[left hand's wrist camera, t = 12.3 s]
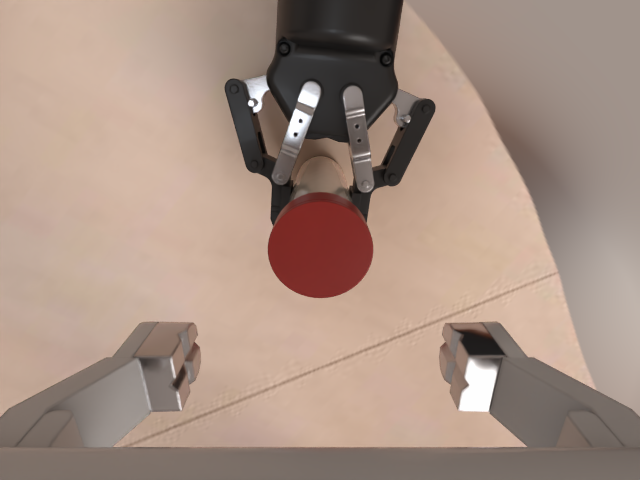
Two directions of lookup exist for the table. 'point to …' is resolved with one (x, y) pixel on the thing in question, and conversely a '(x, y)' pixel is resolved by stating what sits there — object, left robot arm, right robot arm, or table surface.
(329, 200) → the lid
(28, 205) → the table surface
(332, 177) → the beige cylindrical piece
